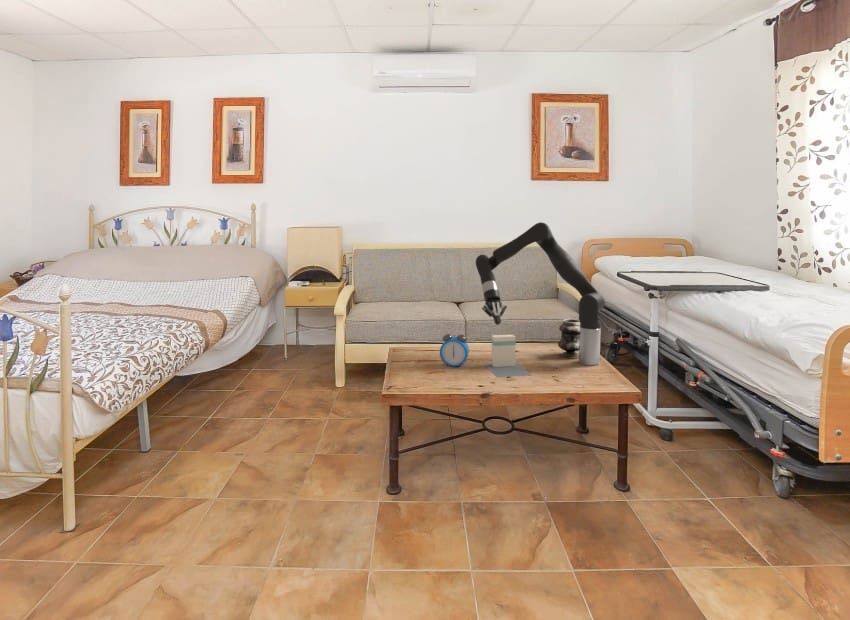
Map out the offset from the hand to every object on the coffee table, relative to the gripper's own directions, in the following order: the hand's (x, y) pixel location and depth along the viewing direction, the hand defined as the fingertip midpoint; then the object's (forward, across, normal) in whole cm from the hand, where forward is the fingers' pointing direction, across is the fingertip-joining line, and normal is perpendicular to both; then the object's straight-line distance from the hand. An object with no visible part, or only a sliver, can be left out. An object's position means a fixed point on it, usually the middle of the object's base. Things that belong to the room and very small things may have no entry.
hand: (498, 323), depth 251 cm
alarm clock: (+16, +21, -13) cm, 29 cm away
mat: (+24, +1, 0) cm, 24 cm away
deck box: (+20, 0, -4) cm, 20 cm away
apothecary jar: (+15, -39, -6) cm, 43 cm away
